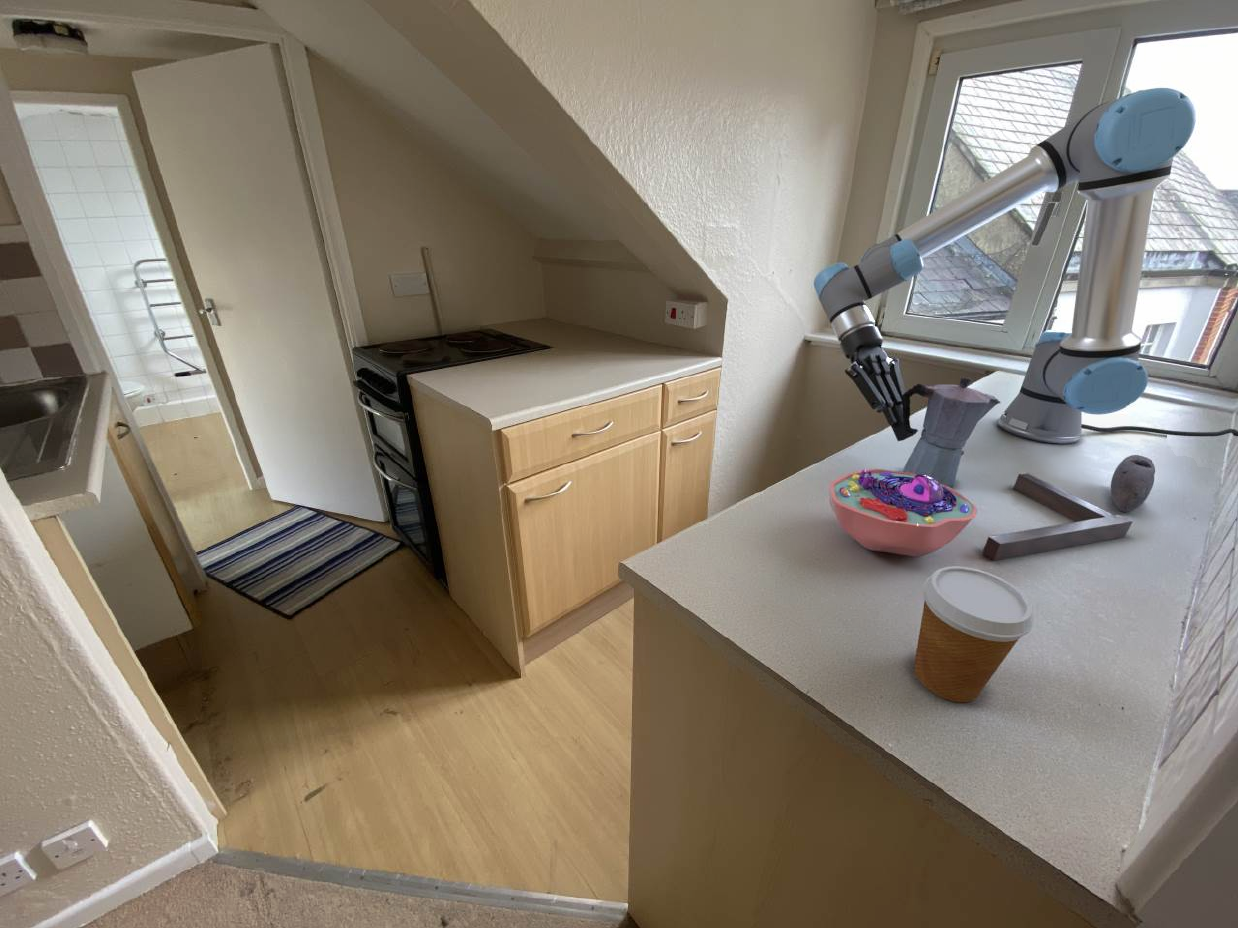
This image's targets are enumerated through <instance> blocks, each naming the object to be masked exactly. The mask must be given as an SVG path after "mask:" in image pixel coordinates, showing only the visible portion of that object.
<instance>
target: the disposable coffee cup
mask: <svg viewBox="0 0 1238 928" xmlns="http://www.w3.org/2000/svg"><path fill="white" fill-rule="evenodd" d="M922 593H923V599H924V602H923V607H922V615H921V621H920V627H919V633H918V639H917V645H916V652H915V659H914V664H913V671H914V674H915V676H916V678H917V680H918V681H919V682H920V684H922V686H924V687H925V688H926V689H927V690H928V691H930V692H931V693H933V694H934V695H936V696H937V697H940V698H942V699H944V700H948V701H950V702H955V703H970V702H972V701H974V700H976V699H977V698H978V697H979V694H980V693H981V692H982V691H983V689H984V688H985V686H986V685H987V684H988V683H989V681H990V680H991V678H993V676H994V674H995V673H996V671H997V670H998V669H999V667H1001V664H1002V663H1003V662H1004V660H1005V659H1006V657H1007V656H1008V655H1009V654H1010V652H1011V650H1012V649H1013V647H1014V646H1015V645H1016V643H1017V642H1018V641H1019V640H1020V639H1021V638H1022V637H1024V636H1026V635H1028V634H1029V633H1030V632H1031V630H1032V629H1033V628H1034V617H1033V606H1032V604H1031V602H1030V600H1029V599H1028V597H1027V596H1026V595H1025V594H1024V593H1023V592H1022V591H1021V590H1019V588H1018V587H1016V586H1015V585H1013V584H1012V583H1010V582H1008V581H1006V580H1005V579H1003V578H1001V577H999V576H998V575H994V574H993V573H990V572H987V571H983V570H981V569H977V568H973V567H969V566H968V567H967V566H956V565H952V566H944V567H942V568H939V569H936V570H935V572H934V573H933V574H932V575H931V576H929V577H927V578H926V579H925V581H924V582H923V585H922Z"/></svg>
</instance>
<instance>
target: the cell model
mask: <svg viewBox="0 0 1238 928" xmlns="http://www.w3.org/2000/svg"><path fill="white" fill-rule="evenodd" d="M828 501H829V505H830V508H831V509H832V512H833V513H834V515H835V517H836V519H837V522H838V525H839V527H840V528H841V529H842V530H843V531H844V532H845V533H846V534H847V535H849V536H850V537H851V538H852V539H854V540H855V541H856V542H857V543H858V544H859V545H860V546H861V547H863V548H864V549H867V550H869V551H875V552H883V553H890V554H894V555H901V556H908V557H922V556H925V555H929V554H932V553H934V552H936V551H938V550H940V549H942V548H943V547H945V546H946V545H948V544H950V543H951V542H953V541H954V540H955V539H956V538H957V537H958V536H959V535H960V534H961V533H962V531H963V530H965V528H967V526H968V525H969V524H970V523H971V522H972V521H973V520H974V518H976V516H977V514H978V509H977V507H976V506H975V504H974V503H973V502H972V501H971V500H970V499H968V498H967V497H965V496H964V495H963V494H962V493H960V492H958V491H957V490H956V489H954V488H953V487H951V488H950V487H948V486H945V485H943V484H940V483H939V482H938V481H936V480H935V479H934V478H932V477H930V476H928V475H924V474H913V473H907V472H903V471H896V470H888V469H882V468H871V469H862V470H857V471H853V472H849V473H847V474H845V475H842V476H841V477H839V478H836V479H834V480H833V481H832V482H830V484H829V494H828Z"/></svg>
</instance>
